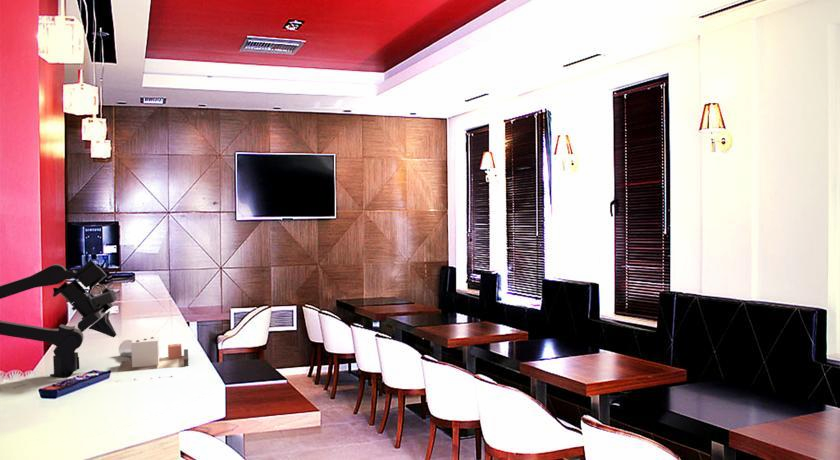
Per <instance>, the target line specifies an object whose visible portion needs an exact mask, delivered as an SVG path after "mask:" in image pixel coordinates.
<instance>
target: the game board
mask: <svg viewBox="0 0 840 460" xmlns="http://www.w3.org/2000/svg"><path fill="white" fill-rule="evenodd" d="M181 367H189V349H185V348H184V349H183V355H182V358H177V359H168V356H166V357H165V356H163V357H159V365H155V366H143V367H132V359H130V360H129V359H127V360H121V363H120V365H119V368H118V369H117V373H124V372H134V371H135V372H136V371H145V370H147V371H148V370H158V369H159V370H160V369H168V368H169V369H170V368H181Z"/></svg>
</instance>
